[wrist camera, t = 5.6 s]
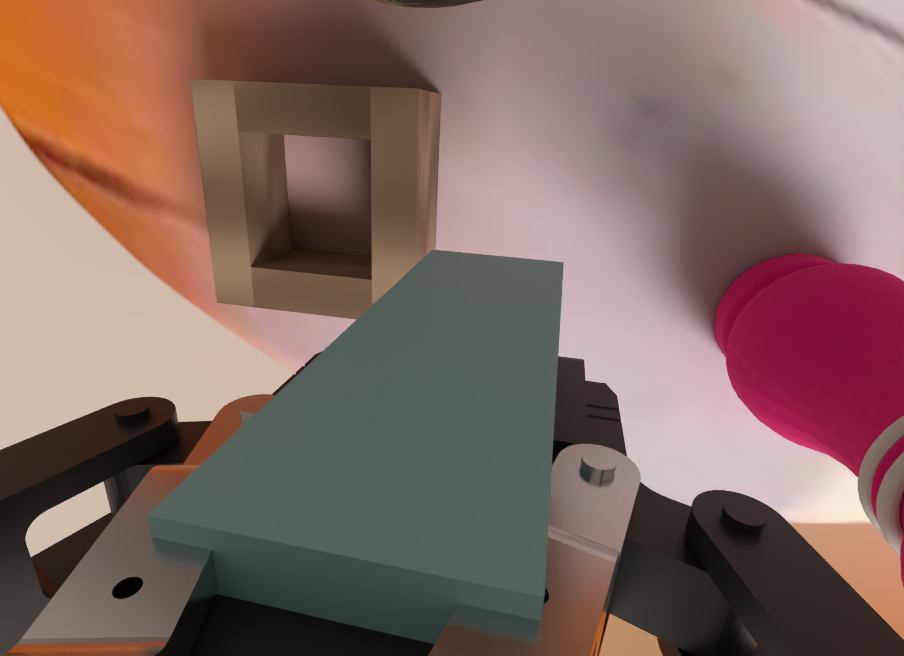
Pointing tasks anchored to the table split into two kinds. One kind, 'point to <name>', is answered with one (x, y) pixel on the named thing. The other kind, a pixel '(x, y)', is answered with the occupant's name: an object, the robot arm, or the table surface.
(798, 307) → the pepper mill
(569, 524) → the robot arm
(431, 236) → the socket block
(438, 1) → the ceramic jug
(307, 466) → the peg
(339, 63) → the table surface
